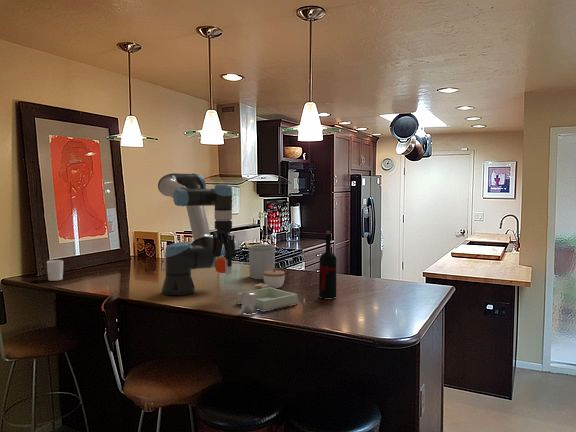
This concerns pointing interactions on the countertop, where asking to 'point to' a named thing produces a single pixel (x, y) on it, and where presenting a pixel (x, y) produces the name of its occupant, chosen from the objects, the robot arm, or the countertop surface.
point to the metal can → (249, 302)
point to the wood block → (260, 286)
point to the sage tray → (272, 298)
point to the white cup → (55, 270)
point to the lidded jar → (274, 278)
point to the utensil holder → (261, 259)
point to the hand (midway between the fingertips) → (223, 272)
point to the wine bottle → (327, 271)
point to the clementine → (220, 265)
